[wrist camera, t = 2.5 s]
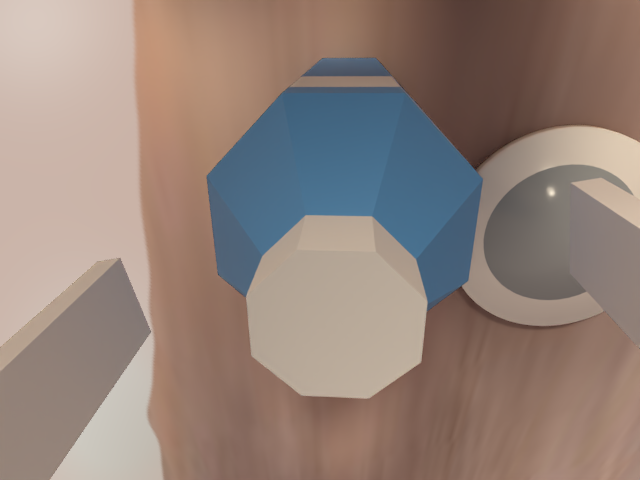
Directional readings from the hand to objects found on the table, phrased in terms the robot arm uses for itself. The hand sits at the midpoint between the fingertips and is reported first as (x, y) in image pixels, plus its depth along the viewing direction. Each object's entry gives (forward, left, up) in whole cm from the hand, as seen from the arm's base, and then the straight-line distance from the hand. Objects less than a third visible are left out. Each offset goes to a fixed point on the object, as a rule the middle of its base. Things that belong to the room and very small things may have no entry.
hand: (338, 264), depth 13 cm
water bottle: (0, 0, -22) cm, 22 cm away
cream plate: (+11, +14, -21) cm, 28 cm away
